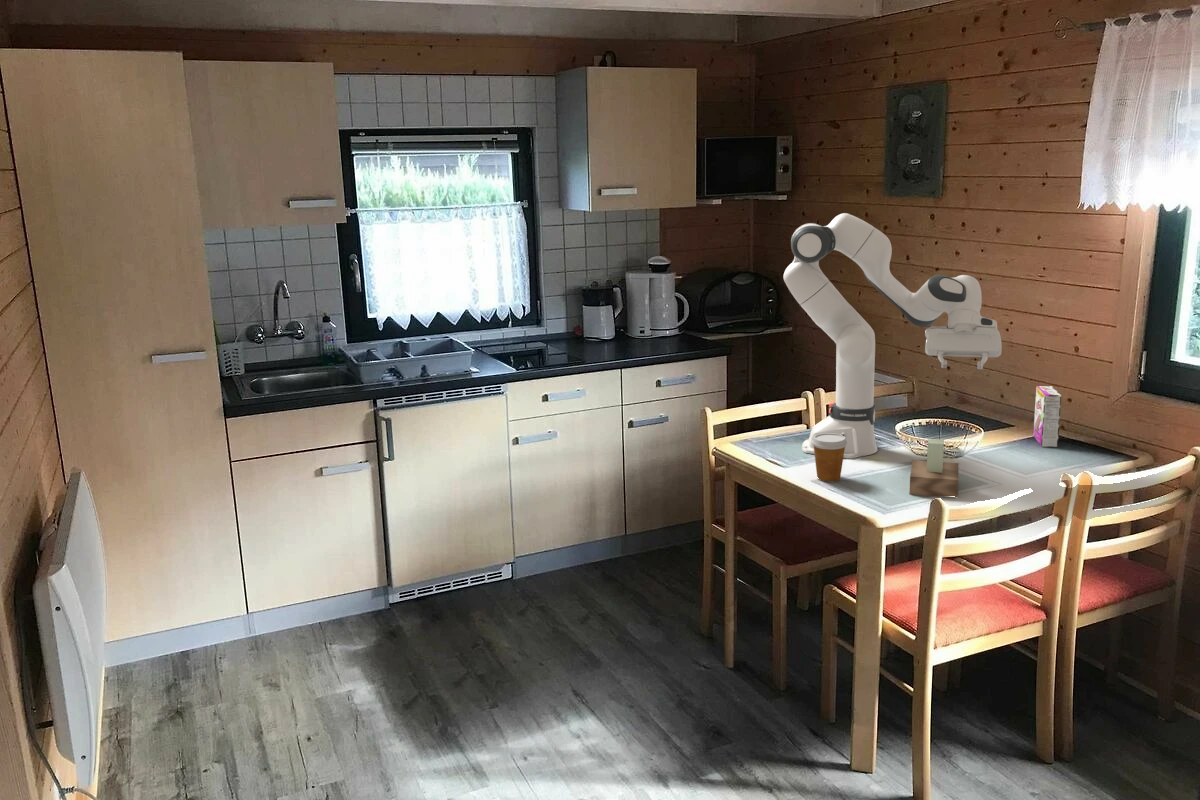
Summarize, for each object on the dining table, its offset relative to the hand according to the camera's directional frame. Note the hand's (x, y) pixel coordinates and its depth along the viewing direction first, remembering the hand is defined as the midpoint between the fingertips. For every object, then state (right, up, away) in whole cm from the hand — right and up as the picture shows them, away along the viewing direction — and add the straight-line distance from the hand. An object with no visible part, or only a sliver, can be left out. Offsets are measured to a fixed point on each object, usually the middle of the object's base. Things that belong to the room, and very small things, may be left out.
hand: (961, 367), depth 265 cm
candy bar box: (+35, -22, +26) cm, 49 cm away
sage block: (-11, -28, -10) cm, 31 cm away
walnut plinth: (-11, -33, -8) cm, 35 cm away
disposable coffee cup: (-37, -31, +2) cm, 48 cm away
